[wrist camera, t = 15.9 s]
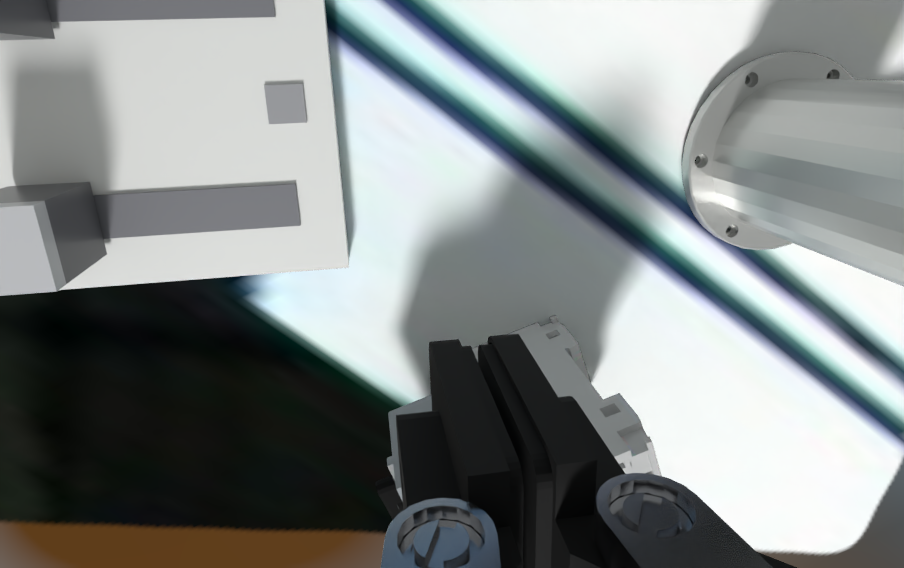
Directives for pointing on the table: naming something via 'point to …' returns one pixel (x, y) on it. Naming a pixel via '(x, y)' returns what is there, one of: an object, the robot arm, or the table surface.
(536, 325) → the circuit breaker
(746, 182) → the robot arm
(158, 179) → the breaker panel
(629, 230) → the table surface
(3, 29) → the handle
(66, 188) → the on handle
